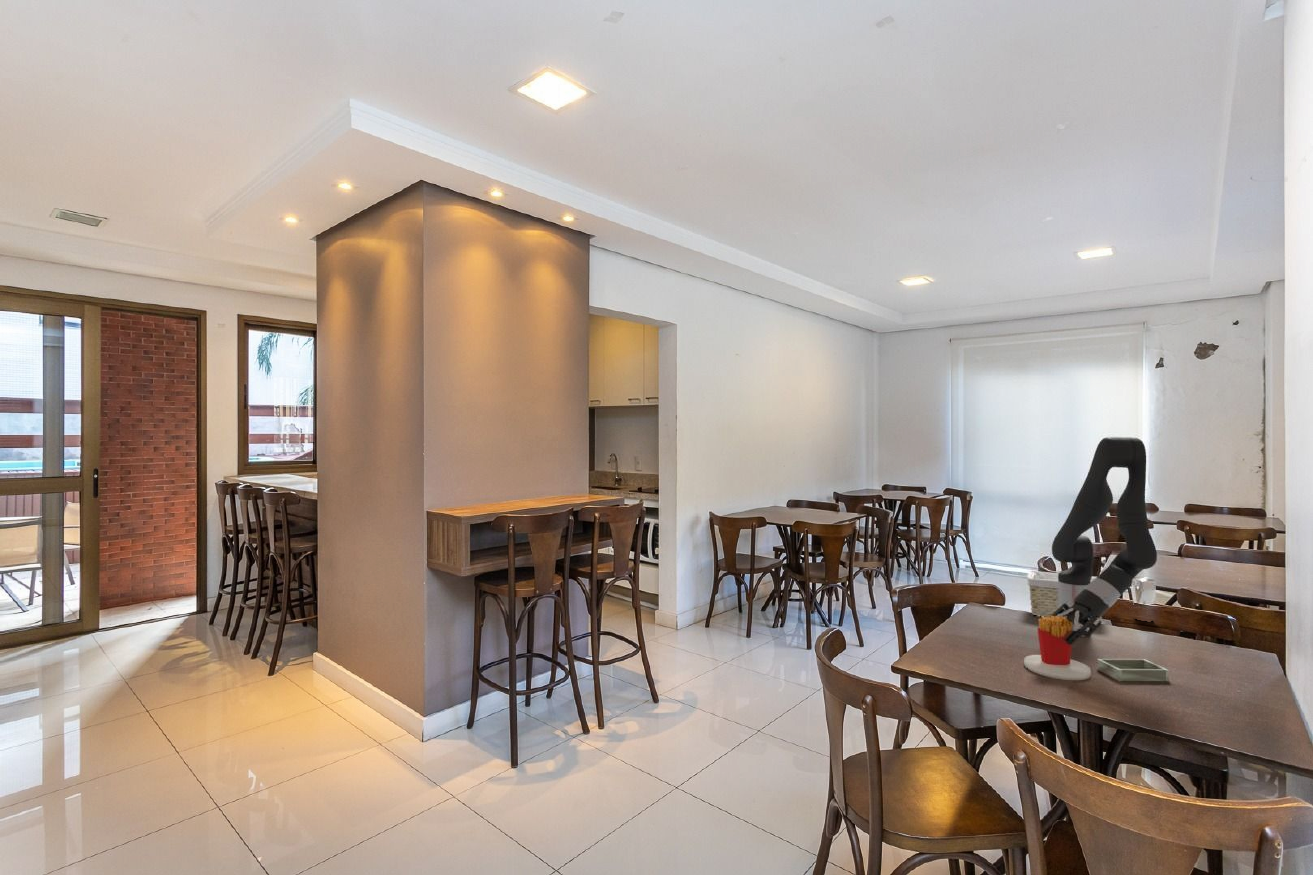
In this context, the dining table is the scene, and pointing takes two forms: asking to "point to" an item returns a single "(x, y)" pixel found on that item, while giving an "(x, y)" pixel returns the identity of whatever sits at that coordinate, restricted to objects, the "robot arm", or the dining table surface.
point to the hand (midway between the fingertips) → (1057, 637)
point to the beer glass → (1143, 590)
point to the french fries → (1054, 640)
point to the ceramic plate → (1058, 669)
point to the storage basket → (1044, 592)
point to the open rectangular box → (1132, 670)
